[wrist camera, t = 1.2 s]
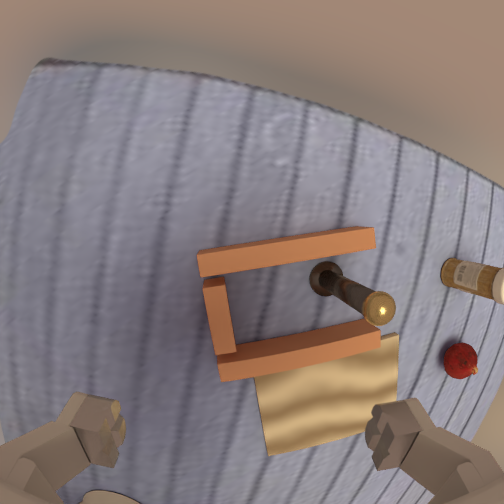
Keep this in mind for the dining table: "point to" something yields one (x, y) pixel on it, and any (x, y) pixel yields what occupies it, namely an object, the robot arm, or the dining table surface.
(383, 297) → the post stand
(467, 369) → the onion
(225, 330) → the c link
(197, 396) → the dining table surface
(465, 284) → the sprinkles bottle
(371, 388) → the tray
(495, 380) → the dining table surface
